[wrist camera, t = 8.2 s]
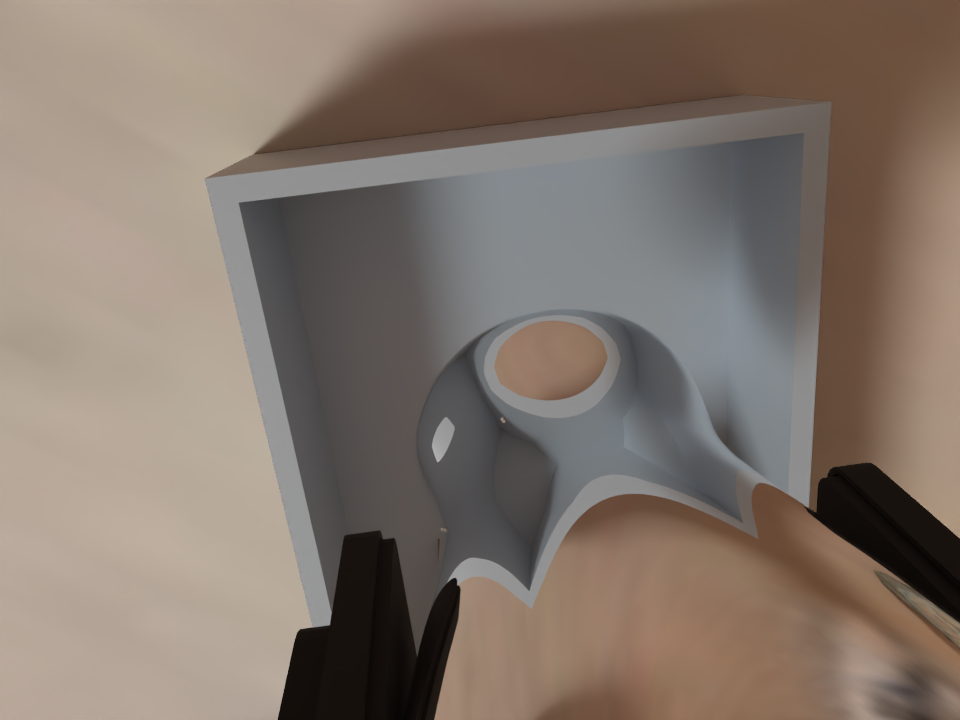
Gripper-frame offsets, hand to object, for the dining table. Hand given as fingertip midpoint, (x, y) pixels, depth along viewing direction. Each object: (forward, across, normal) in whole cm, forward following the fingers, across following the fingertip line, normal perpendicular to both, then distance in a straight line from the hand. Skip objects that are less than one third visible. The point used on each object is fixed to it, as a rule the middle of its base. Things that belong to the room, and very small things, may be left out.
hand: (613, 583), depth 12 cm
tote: (+13, 0, +5) cm, 14 cm away
